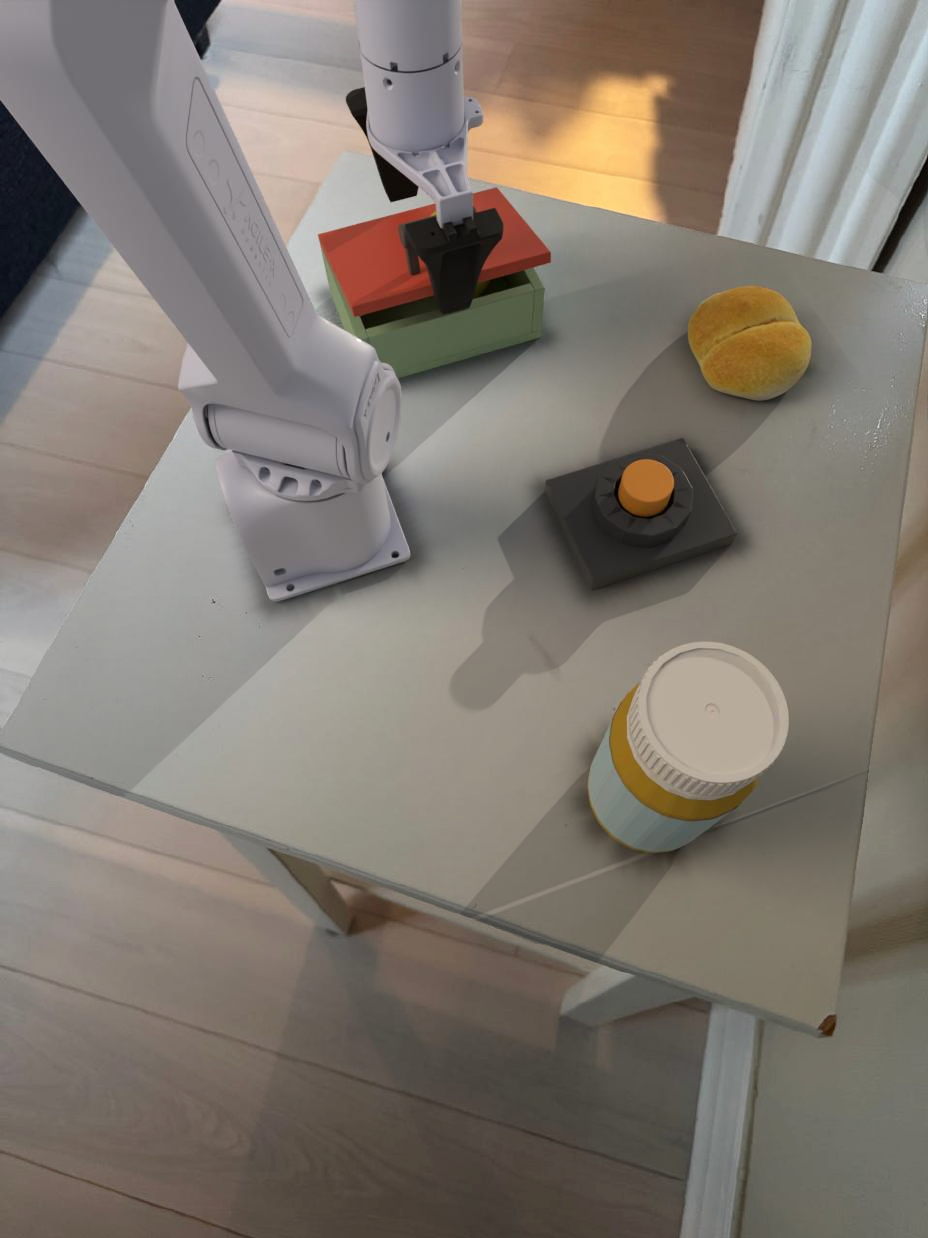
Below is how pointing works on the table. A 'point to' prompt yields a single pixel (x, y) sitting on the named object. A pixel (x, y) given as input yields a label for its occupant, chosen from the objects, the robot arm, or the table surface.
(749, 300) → the bread roll
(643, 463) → the button
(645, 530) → the push button box
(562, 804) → the table surface
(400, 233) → the lid
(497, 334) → the box
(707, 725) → the bottle
